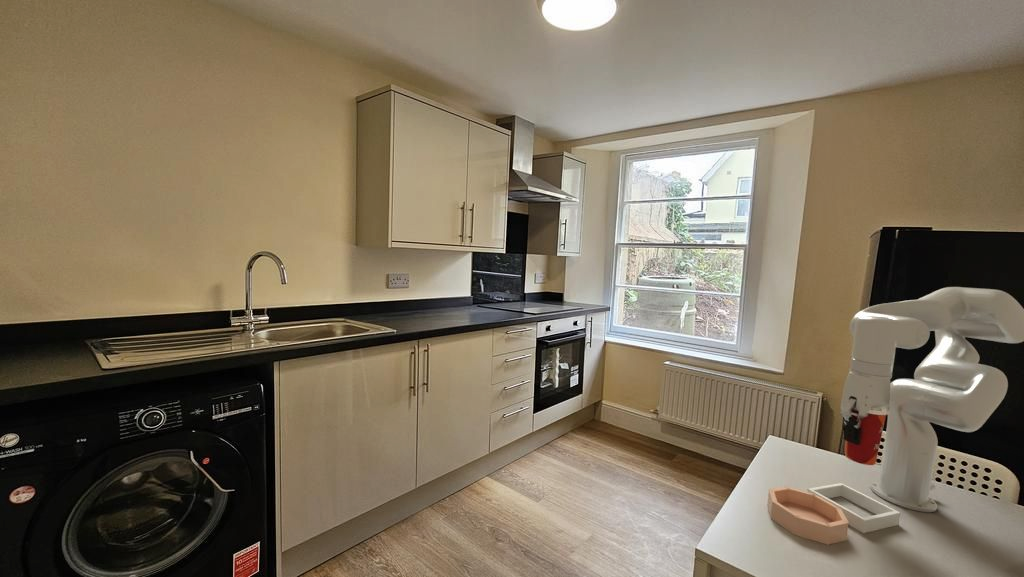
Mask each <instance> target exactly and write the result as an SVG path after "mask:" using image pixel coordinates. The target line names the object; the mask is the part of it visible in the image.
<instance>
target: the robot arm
mask: <svg viewBox="0 0 1024 577" xmlns="http://www.w3.org/2000/svg"><path fill="white" fill-rule="evenodd" d="M932 331H933V332H934V337H935V346H934V348H933V349H932V351H931V352H929V354H927V355H926V356H925V358H924V359H923V360H922V361H921V363H919V365H918V366H917V367H916V368H915V371H914V373H913V378H897V379H895V380H893V381H891V379H892V378H893V369H894V363H895V357H896V356H895V355H896V348H899V349H900V348H901V349H905V350H914V349H919V348H921V347H923V346H924V345H926V344H927V342H928V340H929V338H930V334H931V332H932ZM849 332H850V334H851V336H853V339H852V340H853V341H852V349H851V356H850V363H849V364H850V366H849V372H848V374H847V376H846V379H845V382H844V386H843V390H842V395H841V402H840V415H841V417H842V419H843V424H844V433H843V440H844V441H848V442H851V443H853V444H856V445H860V440H861V432H862V429H861V428H860V426H861V423H862V421H863V417H867V416H868V412H869V410H870V408H873V407H881V406H885V407H886V411H887V412H888V414H887V422H886V429H885V430H886V431H885V438H884V443H883V444H884V445H883V450H882V451H883V452H882V458H881V466H880V472H879V480H873V481H871V482H870V487H869V488H870V489H871V491H872V492H874V494H876V495H877V496H879V497H880V498H882V499H884V500H885V501H887V502H891V503H893V504H895V505H896V506H900V507H902V508H905V509H909V510H912V511H917V512H922V513H932V512H933V513H934V512H936V511H937V509H938V505H937V504H938V503H936V502H935V500H934V499H932V498H931V497H930V496H931V495H930V494H931V491H935V489H936V485H935V484H934V483H933V482H932V481H933V474H934V468H935V461H936V454H937V448H938V444H939V442H938V437H937V433H936V431H935V430H934V428H933V426H932V424H931V423H933V424H935V425H939V426H942V427H944V428H948V429H952V430H955V431H959V432H963V433H964V432H965V433H973V432H975V431H977V430H979V429H980V428H982V427H983V425H985V423H986V422H987V420H988V419H989V418H990V416H992V414H993V413H994V412H995V410H997V408H998V407H999V405H1000V404H1001V403H1002V401H1003V400H1004V399H1005V396H1006V394H1007V392H1008V388H1009V382H1008V378H1007V376H1006V375H1005V373H1004V371H1002V370H1000V369H998V368H997V367H993V366H990V365H987V364H983V363H982V364H981V363H979V362H980V357H981V356H980V355H979V353H978V351H977V349H976V348H975V347H974V346H973V345H972V344H971V343H970V342H969V341H968V340H967V339H966V338H971V339H976V340H977V339H978V340H984V341H985V340H986V341H993V342H997V343H1007V344H1020V343H1023V342H1024V308H1023V306H1022V305H1021V304H1020V303H1019V302H1018V301H1017V299H1015V298H1014V297H1013V296H1012V295H1010V293H1008V292H1006V291H1003V290H1000V289H993V288H992V289H991V288H979V287H978V288H977V287H962V286H947V287H943V288H940V289H938V290H935V291H932V292H931V293H929V294H926V295H924V296H922V297H919V298H918V299H910V300H903V301H895V302H888V303H880V304H876V305H875V304H874V305H872V306H871V305H870V306H868V307H867V308H864V309H862V310H860V311H858V312H857V313H856V314H855V315H854V316H853V317H852V318H851V320H850V322H849ZM855 407H857V410H858V411H859V414H856V413H853V412H852V411H853V409H854V408H855ZM871 410H872V409H871ZM852 415H853V416H856V417H858V418H857V420H856V421H855V419H854V418H853V417H852Z"/></svg>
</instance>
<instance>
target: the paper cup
mask: <svg viewBox="0 0 1024 577" xmlns="http://www.w3.org/2000/svg"><path fill="white" fill-rule="evenodd" d="M871 409H872V410H871ZM852 412H853V413H856V414H859V411H858V410H857V407H855V408H854V409H853V411H852ZM887 416H888V412H887V411H886V407H885V406H881V407H873V408H870V410H869V412H868V416H867V417H863V421H862V423H861V426H860V428H861V429H862V432H861V440H860V445H856V444H853V443H851V442H848V441H846V440H844V441H845V442H844V443H845V444H844V445H845V446H844V454H845V457H846V458H847V459H848V460H850V461H852V462H854V463H857V464H861V465H865V466H874V465H876V462H877V458H878V454H879V450H880V447H881V446H880V445H881V442H882V435H883V430H884V426H885V422H886V417H887ZM852 417H853V418H854V419H855V421H856V420H857V418H858V417H856V416H853V415H852Z"/></svg>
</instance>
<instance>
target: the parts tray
mask: <svg viewBox="0 0 1024 577" xmlns="http://www.w3.org/2000/svg"><path fill="white" fill-rule="evenodd" d="M806 492H809V493H813V494H816V495H817V496H819V497H821V498H823V499H825V500H826V501H828V502H830V503H832V504H834V505H835V506H837V507H839V508H841V510H842V512H843V513H844V515H845V517H846V519H847V521H848V522H849V524H848V526H850V527H852V528H853V529H855V530H857V531H859V532H861V533H862V534H866V533H869V532H874V531H877V530H883V529H887V528H890V527H894V526H899V524H900V518H901V512H900V511H898V510H896V509H894V508H892V507H890V506H888V505H886V504H885V503H882V502H880V501H878V500H876V499H874V498H872V497H871V496H868V495H866V494H864V493H862V492H860V491H858V490H856V489H854V488H852V487H850V486H848V485H846V484H844V483H843V482H839V483H834V484H827V485H822V486H821V485H820V486H816V487H810V488H809V487H808V488H807V491H806ZM837 497H843V498H844V499H846V500H847V501H850V502H852V503H853V504H855V505H857V506H859V507H861V508H863V509H865V510H867V511H869V512H871V513H872V514H874V515H869V516H865V517H863V516H861V515H860V514H857V513H855V512H854V511H852V510H851V509H849V508H847V507H845V506H843V505H841V504H839V503H838V502H836V501H834V500H832V498H837Z"/></svg>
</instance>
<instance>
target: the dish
mask: <svg viewBox="0 0 1024 577" xmlns="http://www.w3.org/2000/svg"><path fill="white" fill-rule="evenodd" d="M766 506H767V509H768V514H769V518H770V519H771V520H772V521H774V522H775V523H777V524H778V525H780V526H781V527H783V528H784V529H786V531H789V532H790V533H792V534H793V535H795V536H798V537H801V538H803V539H804V538H805V539H808V540H810V541H815V542H817V543H818V542H819V543H821V544H825V545H831V544H837V543H840V542H844V541H845V542H846V541H847V538H848V532H849V530H848V529H849V525H848V524H849V522H848V521H847V519H846V517H845V515H844V513H843V512H842V510H841V508H839V507H837V506H835V505H834V504H832V503H830V502H828V501H826V500H825V499H823V498H821V497H819V496H817V495H816V494H813V493H809V492H807V491H804V490H802V489H801V490H800V489H797V488H793V487H789V486H781V487H774V488H770V489H768V494H767V504H766Z"/></svg>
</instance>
